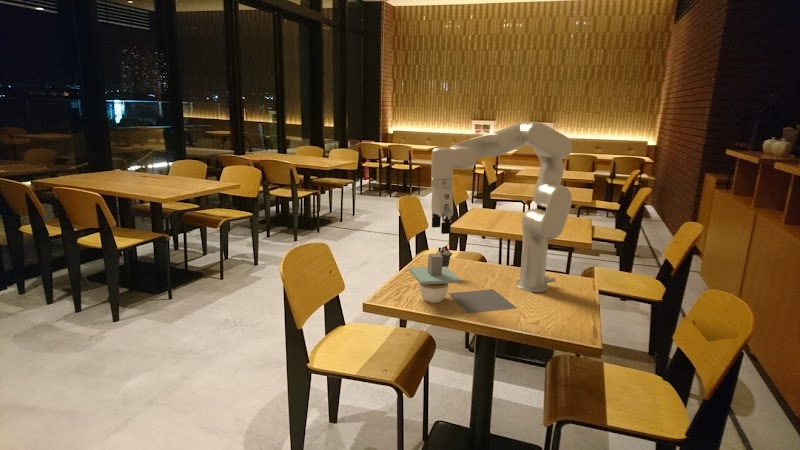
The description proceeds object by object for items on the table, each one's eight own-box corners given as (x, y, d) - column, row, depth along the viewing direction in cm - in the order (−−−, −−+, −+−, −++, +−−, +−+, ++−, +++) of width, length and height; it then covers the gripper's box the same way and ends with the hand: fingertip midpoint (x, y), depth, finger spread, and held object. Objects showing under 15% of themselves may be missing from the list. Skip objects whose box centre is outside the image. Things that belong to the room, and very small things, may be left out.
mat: (493, 290, 186) (493, 289, 186) (517, 309, 168) (517, 308, 168) (447, 294, 181) (447, 293, 181) (467, 314, 163) (467, 313, 163)
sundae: (452, 279, 198) (453, 244, 194) (436, 278, 198) (437, 244, 194) (450, 274, 204) (452, 240, 201) (435, 273, 204) (436, 240, 201)
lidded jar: (446, 307, 169) (447, 282, 167) (416, 304, 171) (416, 280, 169) (449, 296, 179) (450, 272, 177) (421, 294, 181) (421, 270, 179)
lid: (446, 269, 182) (447, 249, 180) (461, 282, 168) (463, 261, 166) (408, 270, 178) (409, 249, 176) (420, 284, 164) (422, 262, 162)
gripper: (461, 186, 160) (459, 235, 164) (442, 179, 176) (441, 224, 180) (440, 187, 158) (439, 237, 162) (423, 180, 174) (423, 225, 178)
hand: (440, 230), depth 171 cm, fingers open, 9 cm apart
